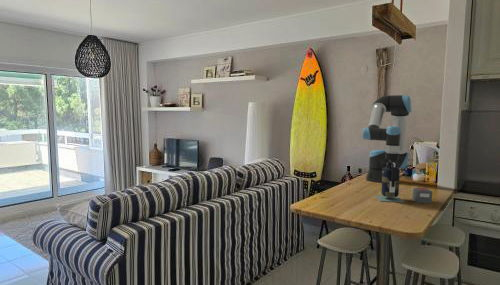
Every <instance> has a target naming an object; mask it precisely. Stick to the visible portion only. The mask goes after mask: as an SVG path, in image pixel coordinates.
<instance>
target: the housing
mask: <svg viewBox="0 0 500 285" xmlns="http://www.w3.org/2000/svg"><path fill="white" fill-rule="evenodd" d="M425 188H426V190H419V187H412V198H411V199H412V200H413V201H414V202H415V203H417V204H418V203H419V204H433V203H432V202H433V190H431V189H429V188H428V187H425Z"/></svg>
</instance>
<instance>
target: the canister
mask: <svg viewBox="0 0 500 285" xmlns="http://www.w3.org/2000/svg"><path fill="white" fill-rule="evenodd" d="M391 173H392V169H389V167H384V168H383V171H382V182H381V192H380V193H381V194H380V195H381V196H386V197H399V195H400V194H399V193H400V190H399V188H400V178H401V177H400V176H401V175H400V173H401V170H400V169H399V168H397V181H395V193H394V192H390V181H389V180H391Z"/></svg>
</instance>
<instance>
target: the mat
mask: <svg viewBox="0 0 500 285" xmlns="http://www.w3.org/2000/svg"><path fill="white" fill-rule="evenodd" d="M375 197H376V198H377V199H378V201H379V202H386V203H405V202H404V200H403V199H402V198H400V197H399V196H397V197H386V196H383V195H378V194H377V195H375Z"/></svg>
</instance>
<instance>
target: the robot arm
mask: <svg viewBox="0 0 500 285" xmlns="http://www.w3.org/2000/svg"><path fill="white" fill-rule="evenodd" d="M370 109H371V113H370V114H371V115H370V118H369V122H368V124H367V127H364V128H363V130H362V139H363V140H367V141H381V142H382V141H383V142H385V146H384V149H373V150H371V151H370V152H369V160H368V161H369V162H368V172H367V173H366V175H365V180H366V181H369V182H374V183H375V182H376V183H382V171H383V168H384V167H389V169H392V173H391V180H389V181H390V192H394V193H395V181H397V168H398V169H399V170H400V169H402V170H403V169H406V168H407V166H408V161H409V157H410V153H408V150H407V149H406V132H407V131H406V129H407V128H406V127H407V117H408V116H410V115H409V114H410V113H412V100H411V96H409V95H403V94H399V95H397V94H395V95H394V94H393V95H392V94H391V95H390V94H387V95H382V96H380V97H378V98H377V99H376V100H375V101H374V102H373V103H372V105H371V108H370ZM386 113H390V116H392V125H390V126H389V125H387V127H386V128H381V126H382V122H383V118H384V114H386Z"/></svg>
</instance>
